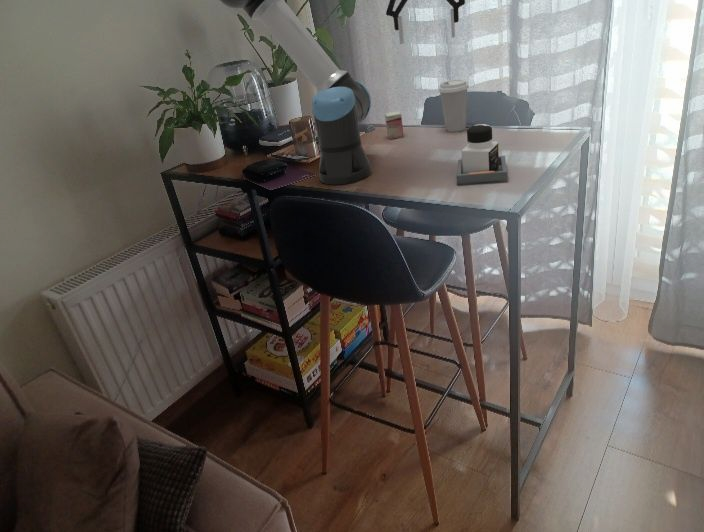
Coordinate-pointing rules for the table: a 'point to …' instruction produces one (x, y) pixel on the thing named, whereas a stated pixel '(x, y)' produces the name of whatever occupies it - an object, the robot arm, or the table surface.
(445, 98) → the coffee cup
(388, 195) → the table surface
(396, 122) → the small box
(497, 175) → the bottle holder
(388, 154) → the table surface
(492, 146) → the medicine bottle
